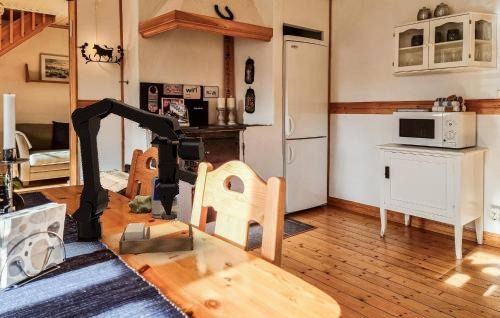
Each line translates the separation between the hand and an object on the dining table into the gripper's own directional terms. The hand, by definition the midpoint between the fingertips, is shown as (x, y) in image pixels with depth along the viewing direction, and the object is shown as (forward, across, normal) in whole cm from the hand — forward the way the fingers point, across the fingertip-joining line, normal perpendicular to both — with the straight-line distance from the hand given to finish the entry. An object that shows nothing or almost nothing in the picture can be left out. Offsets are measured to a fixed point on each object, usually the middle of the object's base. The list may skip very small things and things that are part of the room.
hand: (168, 212), depth 119 cm
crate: (+9, -1, +3) cm, 10 cm away
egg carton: (+9, -1, +10) cm, 13 cm away
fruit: (+10, +40, +11) cm, 43 cm away
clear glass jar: (+2, 0, 0) cm, 2 cm away
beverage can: (+9, +30, +4) cm, 32 cm away
